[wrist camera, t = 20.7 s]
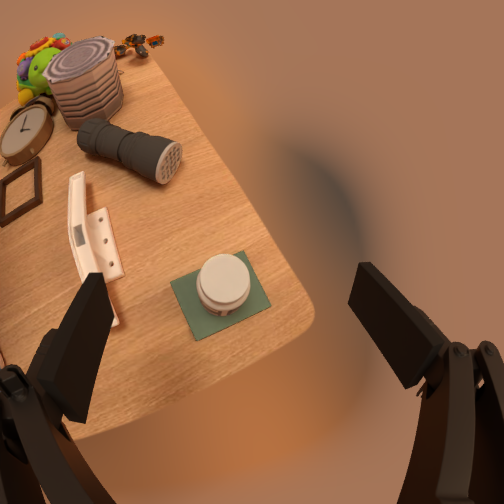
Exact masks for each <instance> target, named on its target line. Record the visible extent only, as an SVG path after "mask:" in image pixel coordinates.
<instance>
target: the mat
mask: <svg viewBox="0 0 504 504" xmlns="http://www.w3.org/2000/svg"><path fill="white" fill-rule="evenodd" d="M233 256H236V257H238V258H239V259H240V260H242V261H243V263H244V264H245V265H246V267H247V269H248V271H249V276H250V291H249V295H248V297H247V298H246V300H245V301H244V303H243V304H242V305H241V306H240V307H239V309H238V310H237V311H235V312H234V313H232V314H230V315H227V316H216V315H213V314H211V313H209V312H208V311H207V310H205V308H204V307H203V306H202V304H201V302H200V299H199V296H198V292H197V287H196V281H197V276H198V274H199V272H200V270H201V269H199V270H197V271H194V272H192V273H190V274H187V275H185V276H183V277H180V278H178V279H176V280H173V281H171V282H170V283H171V286H172V288H173V290H174V293H175V295H176V297H177V300H178V302H179V304H180V306H181V309H182V311H183V313H184V315H185V318H186V320H187V322H188V324H189V326H190V328H191V331H192V333H193V335H194V337H195V339H196V341H198V340H201V339H203V338H205V337H207V336H209V335H212V334H214V333H216V332H218V331H220V330H223V329H225V328H227V327H229V326H231V325H233V324H235V323H237V322H240V321H242V320H244V319H246V318H248V317H250V316H252V315H254V314H256V313H258V312H260V311H262V310H264V309H266V308H268V307H270V306H271V304H270V302H269V300H268V298H267V296H266V294H265V292H264V290H263V288H262V286H261V284H260V282H259V280H258V278H257V276H256V274H255V272H254V270H253V268H252V266H251V264H250V262H249V260H248V258H247V256H246V254H245V252H244V250H243V251H241V252H238V253H236V254H234V255H233Z"/></svg>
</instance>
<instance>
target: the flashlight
mask: <svg viewBox="0 0 504 504" xmlns="http://www.w3.org/2000/svg"><path fill="white" fill-rule="evenodd" d="M77 144H78V146H79V147H80V148H81V150H83V151H84V152H86V153H89V154H92V155H101V156H104V157H106V158H112V159H114V160H117V161H119V162H123V165H124V166H125V167H126V168H129V169H132V170H136V171H137V172H138V173H139V174H141V175H142V176H144V177H146V178H149V179H151V180H153V181H156V182H158V183H161V184H166V183H167V182H169V181H170V179H171V178H172V177H173V175H174V174H175V172H176V171H177V169H178V166H179V164H180V161H181V157H182V145H181V144H180V143H178V142H175V141H172V140H170V139H167V138H164V137H161V136H150V135H149V134H146V133H143V132H136V133H133V132H130V131H127V130H124V129H121V128H120V127H118V126H115V125H112V124H110V122H109V121H107V120H103V119H100V118H93V119H89V120H87V121H85V122H84V123H83V124H82V126H81V127H80V129H79V131H78V134H77Z"/></svg>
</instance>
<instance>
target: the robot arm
mask: <svg viewBox="0 0 504 504" xmlns="http://www.w3.org/2000/svg"><path fill="white" fill-rule="evenodd" d="M348 305H349V306H350V308H351V309H352V311H353V312H354V313H355V315H356V316H357V318H358V319H359V320H360V322H361V323H362V325H363V326H364V328H365V329H366V331H367V332H368V333H369V335H370V336H371V338H372V339H373V341H374V342H375V344H376V345H377V347H378V348H379V350H380V351H381V353H382V354H383V356H384V357H385V359H386V360H387V362H388V363H389V365H390V366H391V368H392V369H393V371H394V373H395V374H396V376H397V377H398V379H399V380H400V382H401V383H402V385H403V387H404V388H405V389H408V388H410V387H413V386H415V385H417V384H418V383H419V381H420V380H421V379H422V377H423V376H424V378H425V379H426V381H425V383H424V384H423V386H422V387H421V388H420V390H419V391H418V392H417V395H416V396H419V394H420V393H421V392H422V391H423V393H422V396H421V398H422V401H421V408H420V414H419V421H418V426H417V431H416V436H415V441H414V446H413V450H412V454H411V458H410V462H409V466H408V470H407V473H406V477H405V480H404V483H403V486H402V489H401V492H400V495H399V498H398V502H397V504H504V363H503V361H502V358H501V356H500V353H499V351H498V349H497V348H496V346H495V345H494V344H493V343H491V342H489V341H482V342H481V343H480V345H479V346H478V348H477V349H468V347H467V346H465V345H464V344H462V343H460V342H452V343H451V342H450V341H449V340H448V338H447V337H446V336H445V335H444V334H443V333H442V332H441V331H440V330H439V328H438V327H437V326H436V325H435V324H434V323H433V322H432V320H431V319H429V317H428V316H427V315H426V314H425V313H424V312H423V311H422V310H421V309H419V308H417V307H416V306H413V305H412V304H411V303H410V302H409V301H408V300H407V299H406V298H405V297H404V296H403V295H402V294H401V293H400V291H399V290H398V289H397V288H396V287H395V286H394V285H393V284H392V283H391V282H390V281H389V280H388V279H387V278H386V277H385V276H384V275H383V274H382V273H381V272H380V271H379V270H378V269H377V268H376V267H375V266H373V264H372V263H371V262H361V263H359V264H358V268H357V272H356V276H355V280H354V283H353V287H352V291H351V294H350V298H349V301H348ZM114 317H115V316H114V313H113V309H112V306H111V302H110V299H109V295H108V291H107V288H106V284H105V280H104V276H103V272H91V273H89V274H88V276H87V277H86V279H85V281H84V282H83V284H82V286H81V287H80V289H79V291H78V292H77V294H76V296H75V298H74V300H73V301H72V303H71V305H70V307H69V309H68V310H67V312H66V314H65V316H64V318H63V320H62V322H61V324H60V326H59V328H58V329H51V330H50V331H49V332H48V333H47V334H46V335H45V336H44V337H43V339H42V341H41V343H40V347H38V349H37V351H36V354H35V355H34V358H33V360H32V362H31V364H30V366H29V369H28V371H27V373H26V375H25V374H24V373H23V371H22V370H21V368H20V367H19V366H17V365H13V364H10V365H7V366H5V367H4V368H2V369H1V370H0V391H1V392H0V504H46V503H45V500H44V497H43V494H42V490H41V487H42V489H43V491H44V492H45V494H46V496H47V498H48V500H49V501H50V503H51V504H116V503H115V501H114V500H113V499H112V498H111V496H110V495H109V494H108V492H107V491H106V490H105V488H103V486H102V485H101V483H100V482H99V480H98V479H97V478H96V476H95V475H94V473H93V472H92V470H91V469H90V467H89V466H88V464H87V463H86V461H85V460H84V458H83V456H82V455H81V453H80V451H79V450H78V448H77V446H76V445H75V443H74V441H73V439H72V438H71V436H70V434H69V432H68V430H67V428H66V426H65V424H64V423H63V422H62V421H61V420H62V416H63V414H64V415H65V416H66V417H67V418H68V420H69V421H73V422H78V423H84V424H86V419H87V414H88V410H89V405H90V401H91V396H92V392H93V388H94V384H95V380H96V376H97V373H98V369H99V365H100V362H101V358H102V355H103V351H104V348H105V345H106V342H107V338H108V335H109V332H110V329H111V326H112V323H113V320H114ZM482 379H483V380H484V384H483V385H482V387H481V388H479V386H478V384H479V382H480V381H481V380H482ZM39 483H40V484H39ZM40 485H41V487H40Z"/></svg>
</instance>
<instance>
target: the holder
mask: <svg viewBox="0 0 504 504" xmlns="http://www.w3.org/2000/svg"><path fill="white" fill-rule="evenodd" d="M32 168H34V188H35V197H34V198H32V199H30V200H29V201H27V202H25V203H24V204H22V205H21V206H19V207H17V208H16V209H14V210H13V211H11V212H10V213H8V214H7V215H5V189H6V185H7V184H9V183H10V182H12V181H13V180H15V179H16V178H18V177H19V176H21V175H22V174H24V173H25V172H27V171H29V170H30V169H32ZM41 203H42V185H41V159H40V158H39V156H37V157H35V158H34V159H32V160H30V161H29V162H27V163H25V164H24V165H22V166H21V167H19V168H18V169H16V170H15V171H13V172H12V173H10V174H9V175H7V176H6V177H4V178H3V179H1V180H0V227H4V226H6V225H7V224H9V223H10V222H12V221H13V220H15V219H16V218H18V217H19V216H21V215H23V214H24V213H26V212H27V211H29V210H31V209H32V208H34V207H36V206H38V205H39V204H41Z"/></svg>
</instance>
